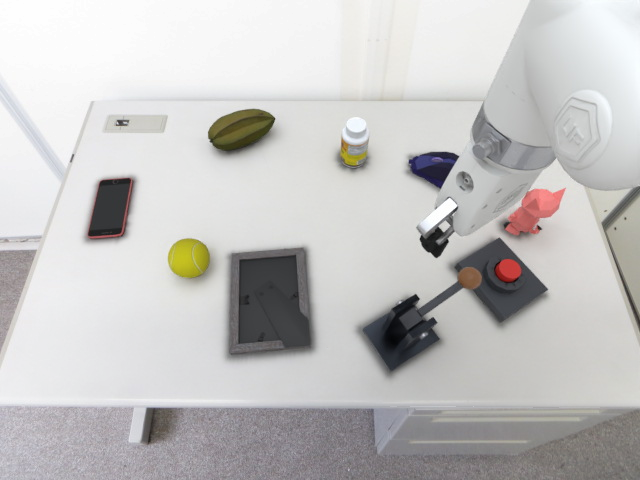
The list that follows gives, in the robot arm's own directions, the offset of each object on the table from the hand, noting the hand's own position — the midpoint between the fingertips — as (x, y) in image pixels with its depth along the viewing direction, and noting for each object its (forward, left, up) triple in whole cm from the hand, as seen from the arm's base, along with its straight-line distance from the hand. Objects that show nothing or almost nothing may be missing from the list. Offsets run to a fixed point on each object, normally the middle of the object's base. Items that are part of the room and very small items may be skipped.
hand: (458, 228), depth 47 cm
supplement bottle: (+31, -6, -23) cm, 39 cm away
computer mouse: (+18, -20, -23) cm, 36 cm away
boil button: (-6, -13, -19) cm, 24 cm away
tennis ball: (+25, +33, -23) cm, 47 cm away
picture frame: (+12, +24, -23) cm, 35 cm away
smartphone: (+46, +42, -23) cm, 67 cm away
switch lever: (-5, +2, -12) cm, 13 cm away
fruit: (+48, +12, -23) cm, 55 cm away
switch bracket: (-5, +8, -23) cm, 24 cm away
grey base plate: (-6, -13, -23) cm, 27 cm away
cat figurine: (0, -24, -23) cm, 33 cm away
